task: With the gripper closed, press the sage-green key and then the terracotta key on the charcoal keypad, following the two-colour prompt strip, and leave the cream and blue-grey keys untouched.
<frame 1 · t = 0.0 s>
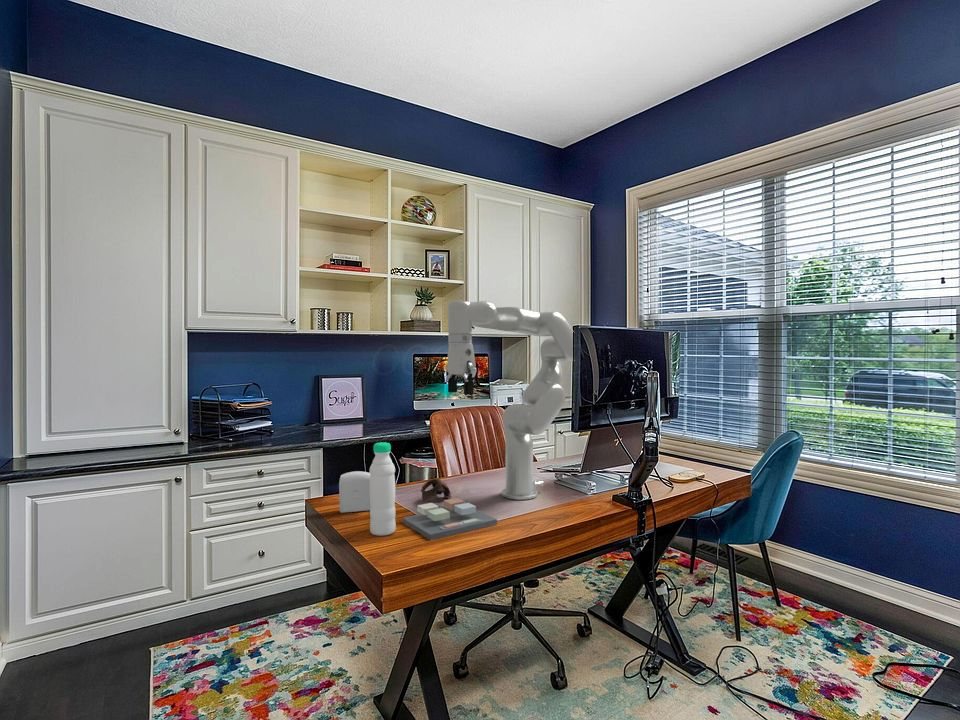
hand: (460, 393, 171), 37 cm above the table, tool pointing down, fingers open, 9 cm apart
water bottle: (382, 532, 149), on the table
keypad: (449, 523, 156), on the table
sage key: (438, 514, 152), point 4 cm above the table, slide at 0.0 cm
terracotta key: (454, 503, 162), point 4 cm above the table, slide at 0.0 cm
blue key: (465, 508, 157), point 4 cm above the table, slide at 0.0 cm
photo printer: (356, 511, 169), on the table
brown arched ornament: (437, 500, 180), on the table
cream key: (428, 508, 157), point 4 cm above the table, slide at 0.0 cm
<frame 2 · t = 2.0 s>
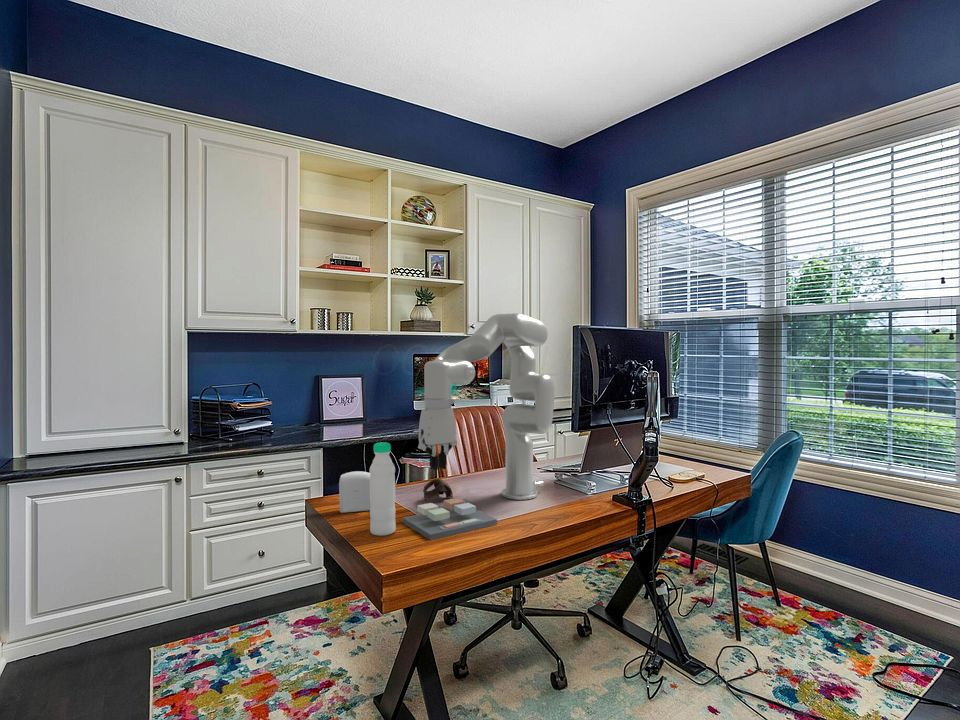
hand: (438, 468, 152), 17 cm above the table, tool pointing down, fingers closed
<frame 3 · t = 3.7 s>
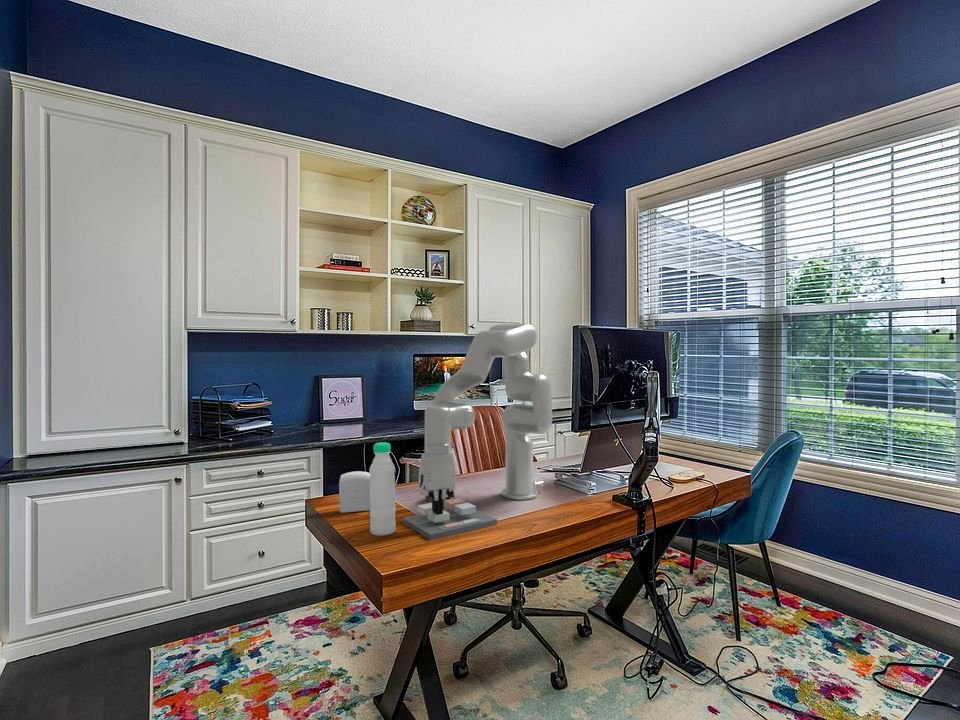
hand: (437, 513, 152), 4 cm above the table, tool pointing down, fingers closed
sage key: (438, 516, 152), point 3 cm above the table, slide at 0.5 cm, touching gripper
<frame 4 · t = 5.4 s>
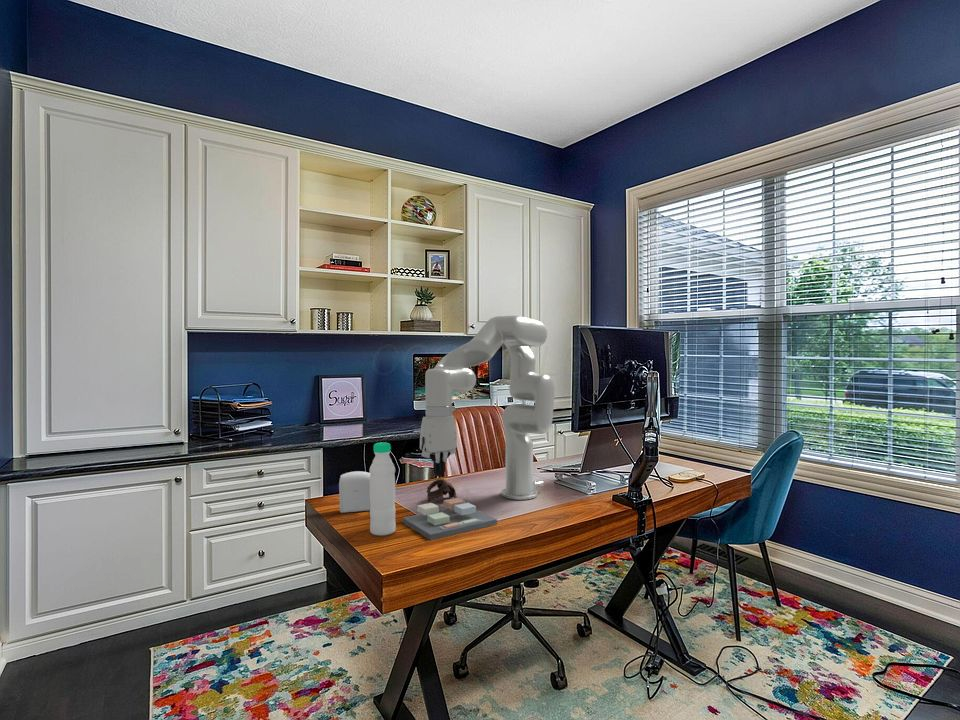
hand: (439, 475, 152), 15 cm above the table, tool pointing down, fingers closed
sage key: (438, 518, 152), point 3 cm above the table, slide at 1.3 cm
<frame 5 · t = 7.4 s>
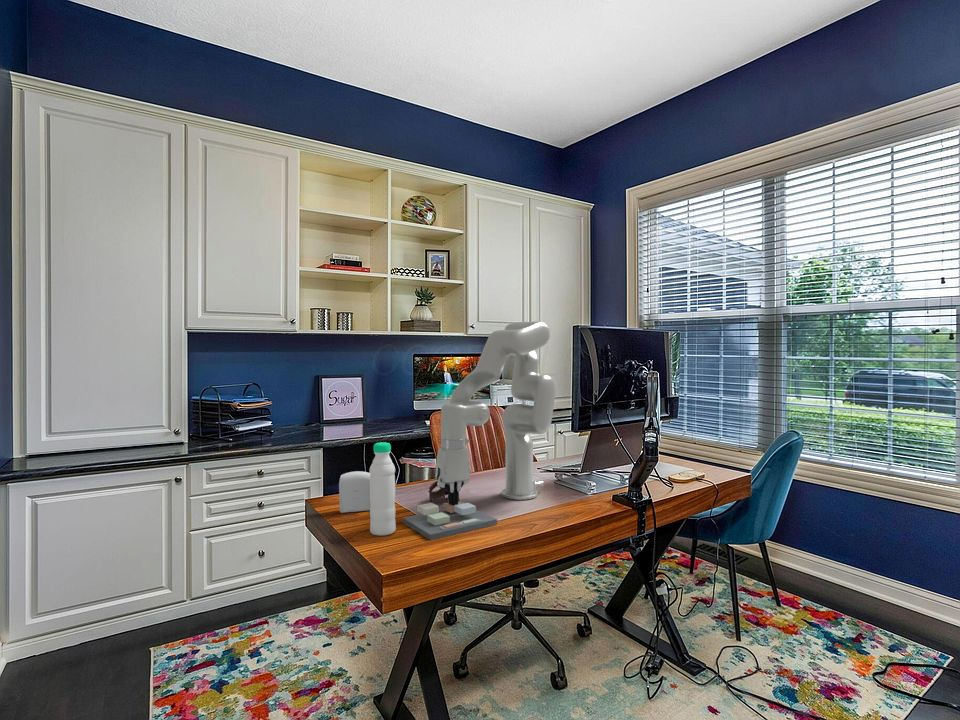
hand: (453, 504, 162), 4 cm above the table, tool pointing down, fingers closed
terracotta key: (454, 506, 162), point 3 cm above the table, slide at 1.0 cm, touching gripper
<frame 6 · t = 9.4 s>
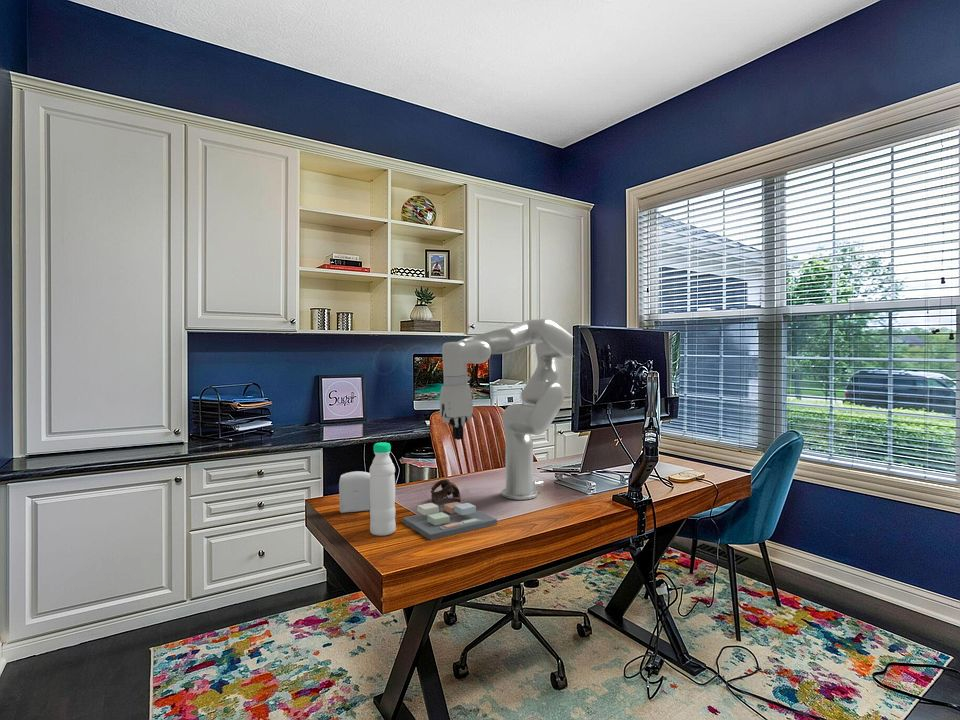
hand: (458, 438, 168), 23 cm above the table, tool pointing down, fingers closed
terracotta key: (454, 507, 162), point 3 cm above the table, slide at 1.3 cm
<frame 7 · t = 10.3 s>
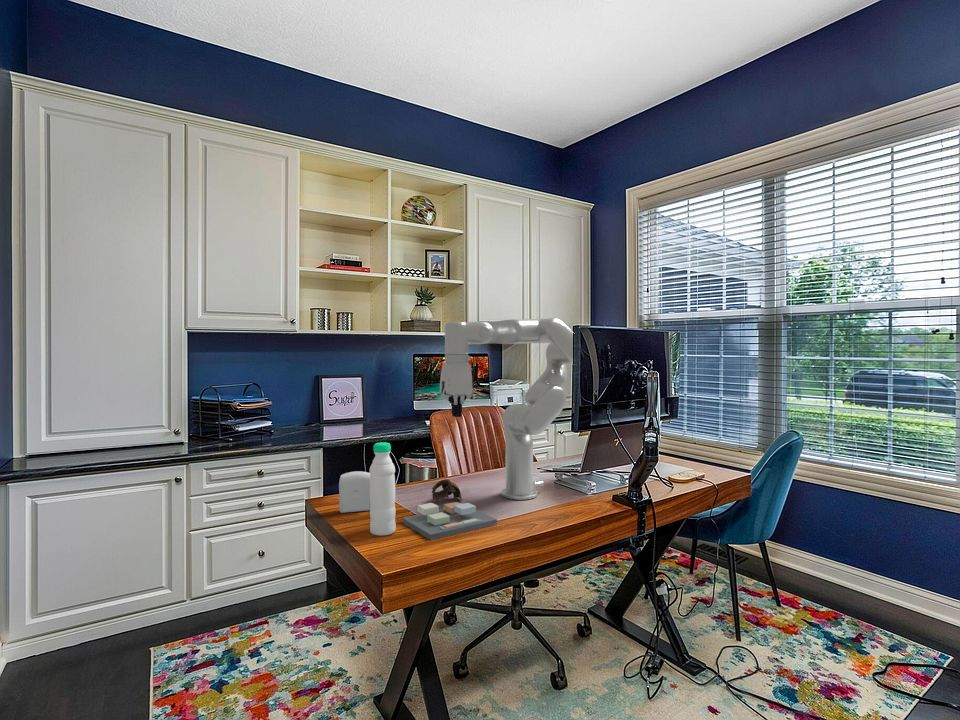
hand: (456, 416, 172), 29 cm above the table, tool pointing down, fingers closed
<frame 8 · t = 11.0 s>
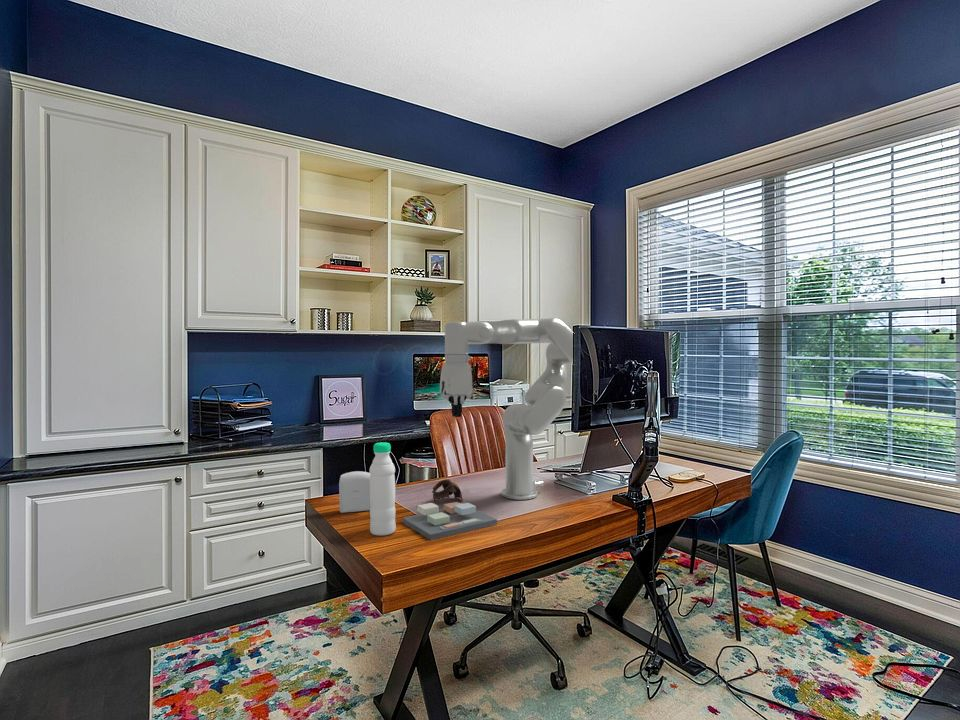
hand: (456, 416, 172), 29 cm above the table, tool pointing down, fingers closed
at the end: sage key slide at 1.3 cm; terracotta key slide at 1.3 cm; cream key slide at 0.0 cm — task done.
